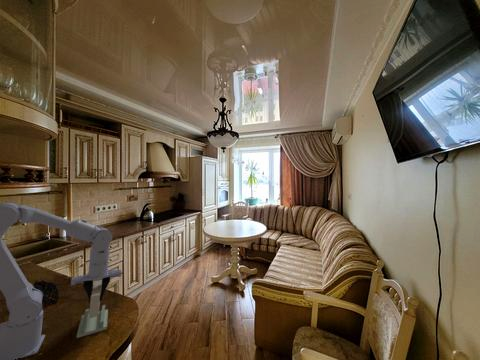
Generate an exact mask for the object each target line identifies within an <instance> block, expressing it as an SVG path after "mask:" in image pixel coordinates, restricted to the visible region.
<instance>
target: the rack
mask: <svg viewBox="0 0 480 360" xmlns="http://www.w3.org/2000/svg"><path fill="white" fill-rule="evenodd" d="M89 312H90V308H86V309H85V312H84V314H82V315H81V318H80V321H79V325H78V329H77V333H76V339H78V338H82V337H85V336H89V335H92V334H96V333H100V332H102V331H103V332H104V331H106V330H108V329H107V328H108V317H109V309H108V308H107V309H106V304H103V305H102V306H101V310H99V312H98V316H97V317H93V318H89Z"/></svg>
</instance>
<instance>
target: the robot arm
mask: <svg viewBox="0 0 480 360" xmlns="http://www.w3.org/2000/svg"><path fill="white" fill-rule="evenodd" d="M18 221H20V222H19V225H23V224H29V223H38V224H41V225H45V226H48V227H52V228H55V229H59V230H62V231H64V232H65V234H66V236H67V237H71V238H74V239H78V240H80V241H84V242H87V243H88V242H89V243H90V242H91V249H90V252H89V262H88V264H89V265H88V273H86V274H82V275H79V276H78V275H77V276H73V277H72V278H71V280H70V286H75V285H76V284H83V287H82V288H83V289H84V291H85V293H86V295H87V297H88V304H90V300H91V294H92V290H93V285H94V282H95V281H100V280H102V286H101V294H100V302H101V301H103V297H104V295H105V292H106V289H107V288H108V286H109V284H110V282H111V279H112V278H116V277H117V278H120V277H122V269H116V270H115V269H114V270H109V259H110V244H111V243H112V241H113V235H112V232H110V231H109V229H107V228H105V227H103V226H101V225H99V224H97V225H96V224H95V225H94V224H93V223H89V222H88V220H87V219H84V218H83V219H82V220H81V219H75V220H68V219H66V218H63V217H61V216H58V215H55V214H53V213H50V212H47V211H44V210H42V209H39V208H35V207H32V206H28V205H24V204H22V205H21V204H19V203H16V202H11V201H5V202H1V203H0V291H1V293H2V294H3V296H4V298H5V302H6V303H5V304H6V308H7V309H8V312H9V315H8V320H6V321H5V322H2V323H0V360H15V359H16V360H19V359H18V358H20V359H23V358H27V357H28V356H33V355H36V354H38V352H39V350H40V349H41V345H42V344H43V342H44V340H45V337H46V334H42V328H43V319H44V310H43V303H42V302H43V293H42V292H41V291H40V290H38V289H35V288H34V287H33V285H34V284H32V283H31V282H29V280H27V279H28V278H26V276H25V275H24V273H23V271H22V269H21V268H20V266H19V265H18V263H17V262H16V259H15V258H14V256H13V255H12V253H11V252H10V250H9V248H8V247H7V244H6V243H5V241H4V240H3V239H2V238H3V236H4V235H5V234H6V232H7V231H8V230H9V228H10V227H12V226H13V225H14V224H15V223H17V222H18Z"/></svg>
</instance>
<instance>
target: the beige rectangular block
mask: <svg viewBox="0 0 480 360" xmlns="http://www.w3.org/2000/svg"><path fill="white" fill-rule="evenodd" d="M101 286H102V279H101V280H97V281H93V289H92V294H91V300H90V303H89V318H93V317H97V316H98V312H99V311H100V306H101V305H100V304H101V301H100V294H101Z"/></svg>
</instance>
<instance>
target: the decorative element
mask: <svg viewBox="0 0 480 360" xmlns="http://www.w3.org/2000/svg"><path fill="white" fill-rule="evenodd" d="M32 285H33V287H34V288H35V289H38V290H40V291H41V292H42V293H43V298H42V300H43V301H44V303H46V304H47V305H48V306H51V305H54V304H55V303H58V301H59V300H60V299H59V298H60V295H59V289H58V286H57V284H56V283H54V282H53V281H46V280H45V279H41V280H39V281H38V280H35V281H34V282H33V284H32Z"/></svg>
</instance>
